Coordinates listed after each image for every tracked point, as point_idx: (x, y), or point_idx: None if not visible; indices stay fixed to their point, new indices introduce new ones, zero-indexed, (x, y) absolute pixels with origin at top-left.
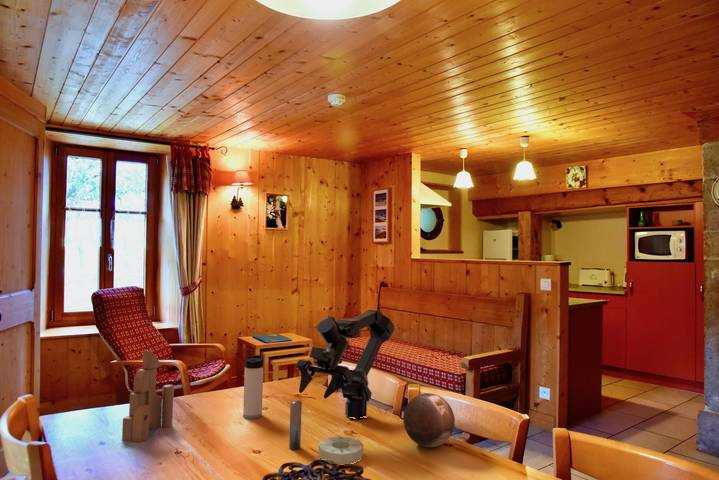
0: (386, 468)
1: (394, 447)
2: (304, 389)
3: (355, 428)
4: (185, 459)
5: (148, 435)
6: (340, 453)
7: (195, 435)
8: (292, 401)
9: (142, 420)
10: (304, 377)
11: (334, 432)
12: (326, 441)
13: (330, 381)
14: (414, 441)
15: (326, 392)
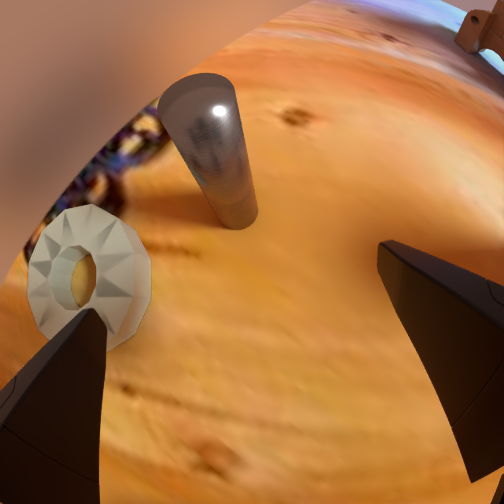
0: (7, 307)
1: None
2: (399, 317)
3: (231, 494)
4: (347, 28)
5: (470, 50)
6: (46, 230)
7: (465, 95)
8: (223, 88)
9: (466, 15)
10: (494, 324)
11: (255, 425)
12: (118, 260)
13: (6, 415)
14: None
15: (61, 330)
